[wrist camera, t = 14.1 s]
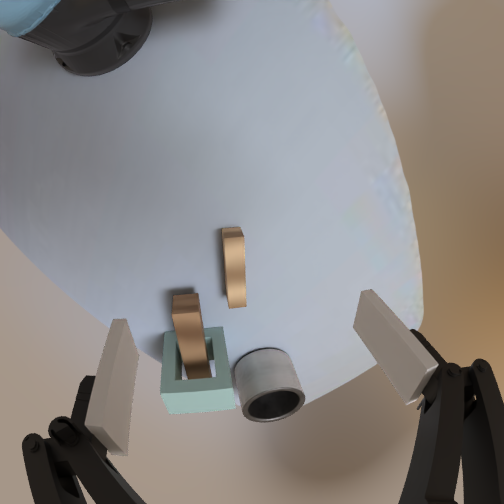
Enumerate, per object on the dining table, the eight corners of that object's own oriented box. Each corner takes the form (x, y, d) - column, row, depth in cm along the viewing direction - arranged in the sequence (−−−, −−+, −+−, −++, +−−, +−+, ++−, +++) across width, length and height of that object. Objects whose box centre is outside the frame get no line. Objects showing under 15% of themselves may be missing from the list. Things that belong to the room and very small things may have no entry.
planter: (237, 388, 59) (246, 427, 49) (229, 352, 54) (237, 396, 44) (290, 377, 61) (304, 414, 51) (290, 340, 55) (307, 380, 45)
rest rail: (221, 228, 42) (224, 238, 39) (240, 227, 43) (244, 236, 39) (226, 294, 48) (229, 308, 44) (242, 293, 48) (246, 306, 44)
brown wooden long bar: (173, 295, 43) (171, 314, 38) (198, 292, 44) (199, 312, 39) (193, 382, 52) (194, 401, 48) (212, 380, 53) (215, 399, 49)
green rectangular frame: (164, 331, 49) (160, 393, 36) (222, 326, 50) (233, 387, 38) (171, 354, 51) (169, 413, 38) (225, 349, 53) (235, 408, 40)
